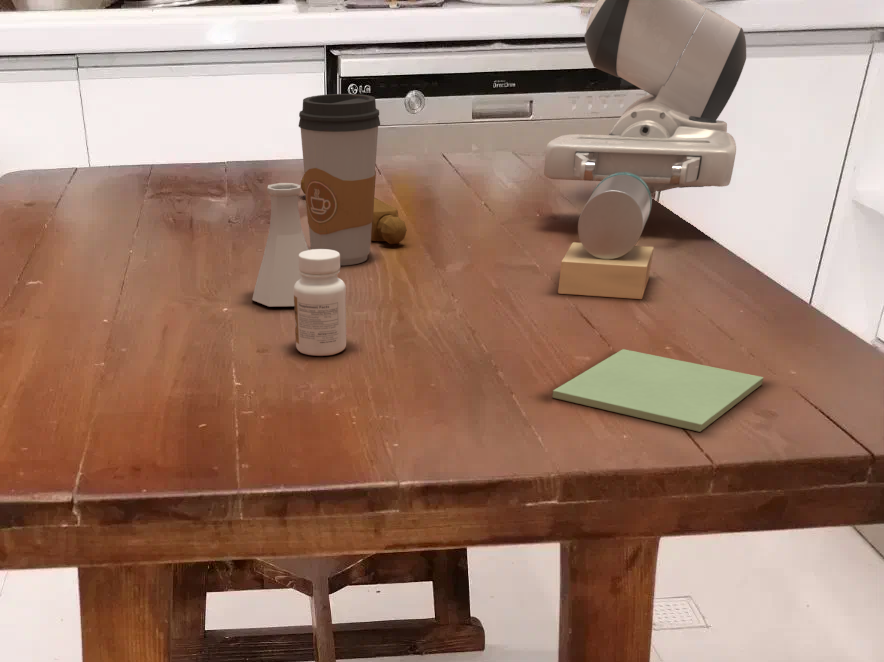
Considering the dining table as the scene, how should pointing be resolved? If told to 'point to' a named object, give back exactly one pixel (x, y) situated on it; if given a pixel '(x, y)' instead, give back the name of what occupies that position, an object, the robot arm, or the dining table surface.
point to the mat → (659, 389)
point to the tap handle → (383, 222)
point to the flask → (281, 248)
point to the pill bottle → (320, 304)
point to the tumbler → (615, 215)
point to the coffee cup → (340, 172)
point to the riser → (605, 273)
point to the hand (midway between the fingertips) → (631, 173)
